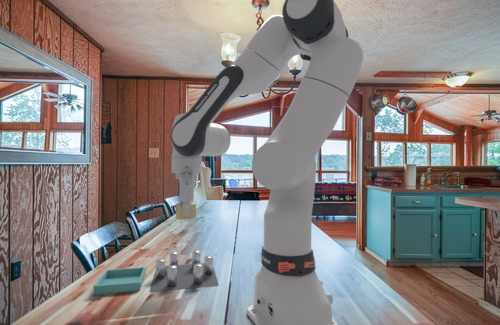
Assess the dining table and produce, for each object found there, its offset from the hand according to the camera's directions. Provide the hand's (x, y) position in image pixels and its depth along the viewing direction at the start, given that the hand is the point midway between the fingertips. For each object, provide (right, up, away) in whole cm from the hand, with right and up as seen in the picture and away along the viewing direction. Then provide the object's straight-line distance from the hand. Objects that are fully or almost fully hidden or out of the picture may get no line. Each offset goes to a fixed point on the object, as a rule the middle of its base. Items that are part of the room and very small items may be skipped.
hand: (186, 213), depth 81 cm
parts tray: (-16, -19, -6) cm, 26 cm away
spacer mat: (0, -19, 0) cm, 19 cm away
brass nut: (0, -1, 0) cm, 1 cm away
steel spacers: (0, -19, 0) cm, 19 cm away
